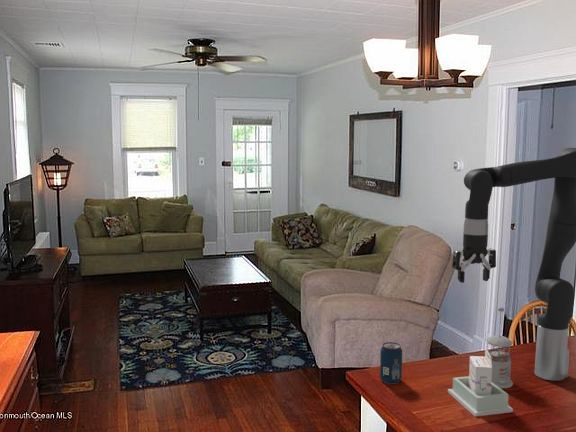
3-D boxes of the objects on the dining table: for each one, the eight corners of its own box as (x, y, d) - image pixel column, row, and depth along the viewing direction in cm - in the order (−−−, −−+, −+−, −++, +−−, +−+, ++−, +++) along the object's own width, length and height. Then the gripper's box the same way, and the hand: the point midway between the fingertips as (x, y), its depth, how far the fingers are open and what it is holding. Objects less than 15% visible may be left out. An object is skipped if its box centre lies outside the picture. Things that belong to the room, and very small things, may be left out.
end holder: (482, 388, 183) (483, 373, 183) (512, 412, 168) (513, 395, 167) (447, 392, 181) (448, 376, 180) (475, 416, 165) (475, 399, 165)
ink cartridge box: (467, 391, 179) (469, 346, 177) (483, 392, 178) (486, 346, 176) (473, 404, 170) (476, 356, 168) (491, 405, 170) (493, 357, 168)
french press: (475, 382, 188) (479, 307, 184) (491, 371, 197) (494, 299, 193) (505, 391, 181) (510, 314, 178) (520, 379, 190) (524, 305, 186)
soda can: (386, 374, 194) (387, 339, 192) (405, 379, 190) (406, 344, 188) (375, 381, 189) (376, 345, 187) (394, 387, 185) (395, 350, 183)
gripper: (489, 229, 191) (486, 277, 194) (449, 231, 188) (447, 279, 191) (502, 233, 184) (499, 283, 187) (461, 235, 181) (459, 285, 183)
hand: (473, 281), depth 189 cm, fingers open, 8 cm apart
